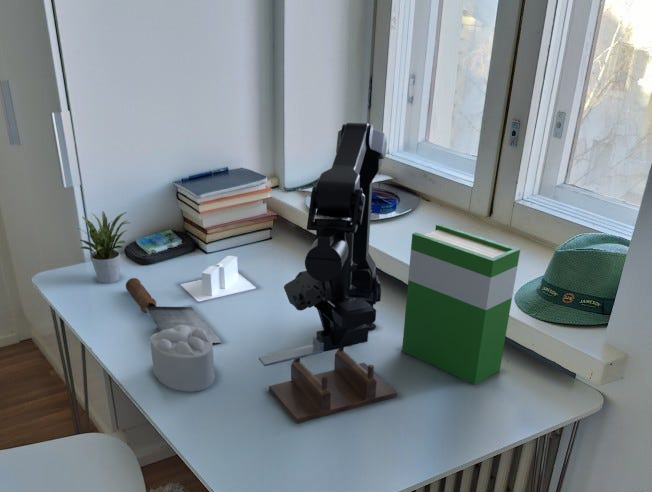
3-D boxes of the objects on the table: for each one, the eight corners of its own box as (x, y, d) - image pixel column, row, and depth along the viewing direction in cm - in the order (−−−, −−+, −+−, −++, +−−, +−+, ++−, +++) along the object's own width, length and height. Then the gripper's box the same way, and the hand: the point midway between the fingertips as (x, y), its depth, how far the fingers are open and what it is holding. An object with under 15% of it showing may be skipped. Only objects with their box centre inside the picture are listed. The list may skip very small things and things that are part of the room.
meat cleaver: (222, 342, 159) (221, 324, 157) (170, 354, 156) (168, 336, 153) (170, 284, 185) (168, 268, 183) (124, 293, 182) (122, 277, 179)
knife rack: (364, 366, 149) (366, 332, 145) (397, 396, 140) (400, 360, 135) (268, 390, 143) (268, 354, 139) (296, 423, 134) (296, 386, 129)
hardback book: (402, 350, 154) (412, 233, 140) (426, 338, 157) (439, 223, 144) (474, 384, 142) (493, 260, 129) (499, 370, 146) (520, 249, 132)
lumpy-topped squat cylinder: (193, 354, 155) (190, 314, 151) (227, 381, 146) (225, 340, 141) (147, 369, 151) (142, 329, 146) (179, 398, 142) (174, 356, 137)
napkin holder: (236, 271, 189) (235, 249, 186) (257, 288, 181) (256, 264, 177) (179, 284, 184) (177, 261, 181) (198, 302, 175) (196, 278, 172)
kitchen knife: (360, 335, 139) (361, 320, 138) (368, 342, 137) (369, 327, 135) (258, 359, 133) (257, 344, 132) (264, 366, 131) (264, 351, 129)
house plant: (151, 268, 193) (144, 203, 183) (132, 291, 181) (123, 224, 172) (97, 265, 195) (88, 201, 186) (75, 288, 184) (64, 221, 175)
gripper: (267, 246, 132) (269, 328, 141) (316, 287, 117) (314, 376, 126) (325, 235, 135) (323, 316, 144) (380, 273, 121) (374, 361, 129)
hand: (332, 341), depth 136 cm, fingers closed on kitchen knife, 2 cm apart
